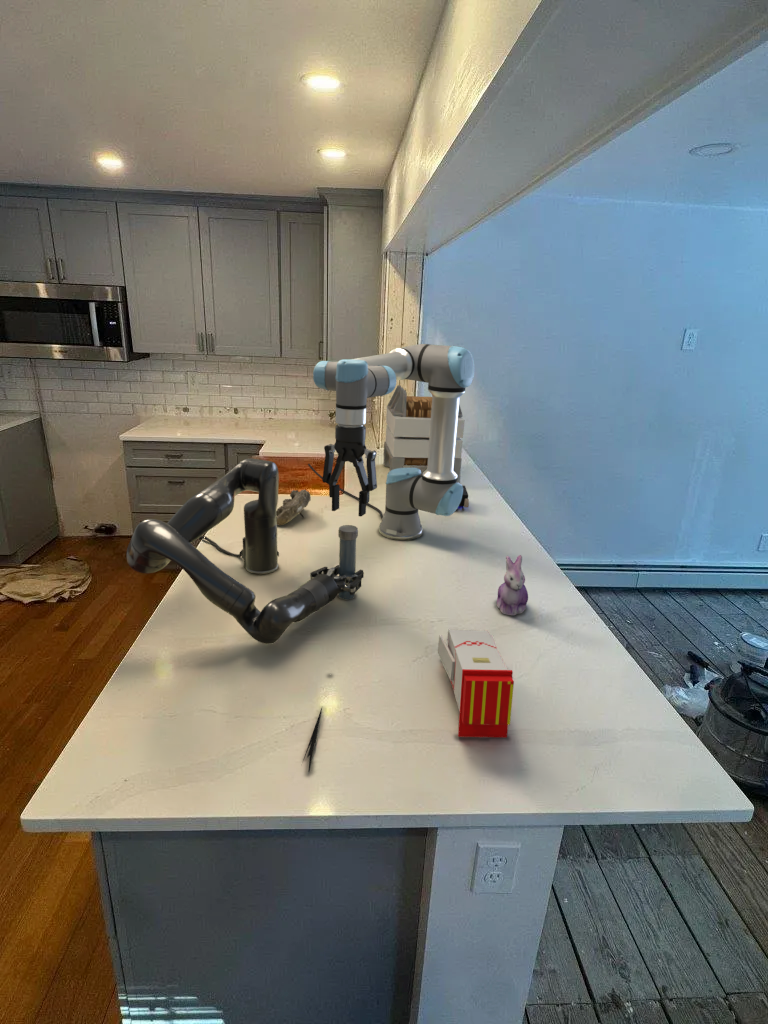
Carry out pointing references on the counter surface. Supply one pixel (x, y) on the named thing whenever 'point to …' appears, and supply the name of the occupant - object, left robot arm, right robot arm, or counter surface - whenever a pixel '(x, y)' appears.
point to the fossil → (292, 506)
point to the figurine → (512, 589)
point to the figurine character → (464, 499)
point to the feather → (313, 740)
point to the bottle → (347, 562)
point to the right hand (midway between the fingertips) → (348, 512)
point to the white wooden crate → (413, 432)
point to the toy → (478, 682)
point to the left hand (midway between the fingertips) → (352, 570)
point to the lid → (348, 532)
